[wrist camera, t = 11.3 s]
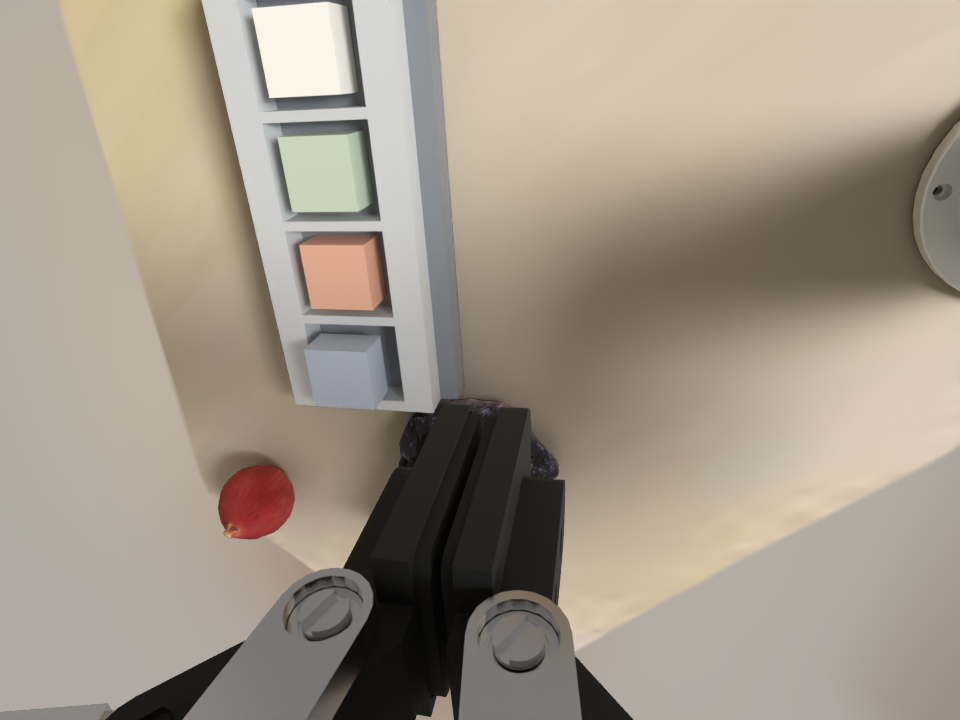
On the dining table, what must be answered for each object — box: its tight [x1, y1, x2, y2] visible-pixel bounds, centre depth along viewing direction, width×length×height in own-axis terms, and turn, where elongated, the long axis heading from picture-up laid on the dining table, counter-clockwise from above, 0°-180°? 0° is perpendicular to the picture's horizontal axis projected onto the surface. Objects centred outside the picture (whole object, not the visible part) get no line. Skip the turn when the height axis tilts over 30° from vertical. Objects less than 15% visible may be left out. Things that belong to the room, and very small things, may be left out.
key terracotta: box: [299, 234, 386, 310], centre depth 36 cm, size 4×4×2 cm
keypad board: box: [202, 0, 464, 413], centre depth 36 cm, size 13×26×4 cm, turn 3°
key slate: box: [304, 333, 388, 410], centre depth 38 cm, size 4×4×2 cm
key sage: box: [277, 130, 374, 212], centre depth 34 cm, size 4×4×2 cm
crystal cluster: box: [399, 398, 559, 479], centre depth 42 cm, size 13×14×10 cm
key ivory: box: [251, 2, 359, 98], centre depth 31 cm, size 4×4×2 cm
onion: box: [218, 465, 295, 539], centre depth 47 cm, size 6×6×8 cm
